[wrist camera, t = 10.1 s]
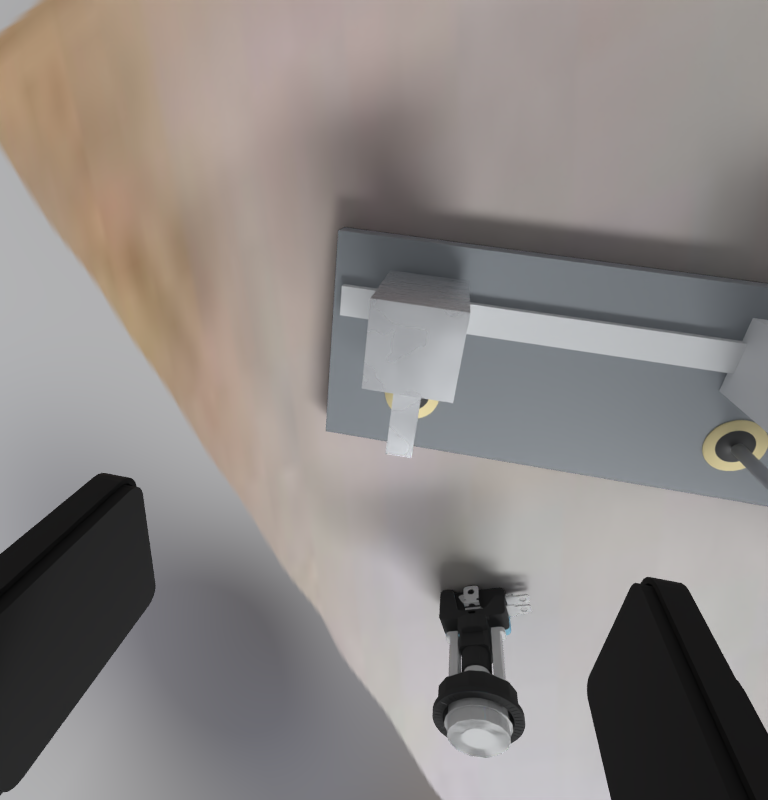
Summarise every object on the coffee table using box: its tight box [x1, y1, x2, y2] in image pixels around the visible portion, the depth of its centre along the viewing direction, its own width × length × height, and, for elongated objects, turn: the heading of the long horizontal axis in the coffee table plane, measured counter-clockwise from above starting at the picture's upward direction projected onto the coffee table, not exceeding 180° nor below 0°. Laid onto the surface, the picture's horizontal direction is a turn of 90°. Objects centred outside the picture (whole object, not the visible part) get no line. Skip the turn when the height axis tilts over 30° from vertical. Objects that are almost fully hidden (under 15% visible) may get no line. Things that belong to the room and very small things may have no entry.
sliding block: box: [362, 270, 470, 458], centre depth 23 cm, size 4×7×6 cm, turn 174°
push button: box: [433, 586, 532, 758], centre depth 32 cm, size 7×5×10 cm
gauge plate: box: [326, 227, 768, 506], centre depth 24 cm, size 28×12×8 cm, turn 84°
